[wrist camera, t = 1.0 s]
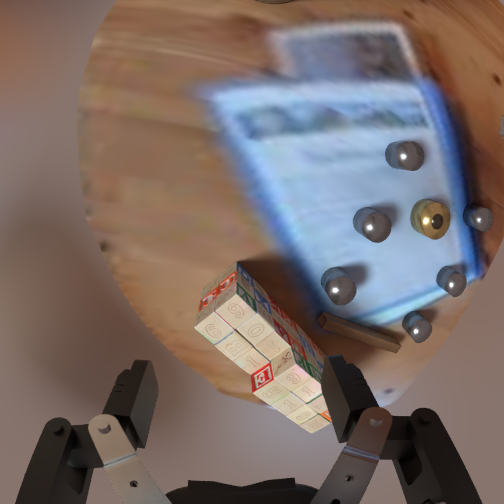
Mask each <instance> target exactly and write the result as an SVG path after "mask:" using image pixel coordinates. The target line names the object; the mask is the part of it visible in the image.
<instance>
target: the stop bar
mask: <svg viewBox="0 0 504 504" xmlns="http://www.w3.org/2000/svg"><path fill="white" fill-rule="evenodd" d="M317 320H318V322H319V324H320V326H321V328H322V329H324V330H327V331H330V332H333V333H336V334H339V335H342V336H345V337H348V338H350V339H353V340H356V341H359V342H362V343H365V344H369V345H372V346H375V347H378V348H381V349H384V350H387V351H390V352H393V353H397V352H398V350H399V349H400V347H401V345H400V343H399V342H398V341H397V340H396V338H394V337H392V336H389V335H386V334H383V333H380V332H378V331H375V330H372V329H370V328H367V327H364V326H361V325H359V324H356V323H353V322H351V321H348V320H345V319H343V318H340V317H337V316H335V315H332V314H329V313H327V312H324V311H322V313H321V314H320V316H319V318H318V319H317Z"/></svg>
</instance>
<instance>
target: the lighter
mask: <svg viewBox="0 0 504 504" xmlns="http://www.w3.org/2000/svg"><path fill="white" fill-rule="evenodd" d="M499 134H500V135H501V136H502V138H504V115H502V121H501V126H500V131H499Z"/></svg>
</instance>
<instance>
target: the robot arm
mask: <svg viewBox="0 0 504 504" xmlns="http://www.w3.org/2000/svg"><path fill="white" fill-rule="evenodd" d="M256 1H259V2H263V3H270V4H278V3H285V2H288V1H292V0H256ZM321 390H322V394H323V397H324V400H325V403H326V405H327V408H328V411H329V414H330V417H331V420H332V423H333V426H334V429H335V432H336V435H337V439H338V441H339V443H344V442H347V444H346V446H345V447H344V448H343V450H342V452H341V453H340V455H339V457H338V459H337V461H336V462H335V464H334V466H333V468H332V469H331V471H330V473H329V474H328V476H327V478H326V479H325V481H324V483H323V484H322V486H321V487H320V489H319V490H318V489H316V488H314V487H311V486H307V485H302V484H295V478H285V479H274V480H267V481H263V482H259V483H256V484H252V485H248V486H243V487H239V486H233V485H228V484H223V483H218V482H214V481H191V480H188V487H182V488H178V489H175V490H173V491H170V492H168V493H167V494H164V493H163V491H162V490H161V489H160V487H159V486H158V484H157V483H156V481H155V480H154V479H153V477H152V476H151V474H150V473H149V471H148V470H147V468H146V467H145V465H144V464H143V462H142V461H141V459H140V457H139V456H138V454H137V453H136V450H137V448H145V446H146V441H147V437H148V433H149V429H150V425H151V421H152V416H153V413H154V409H155V405H156V401H157V397H158V383H157V380H156V376H155V372H154V368H153V364H152V362H151V361H150V360H135V361H134V363H133V365H132V367H131V370H127V369H126V370H124V371H123V372H122V373H121V374H120V375H119V376H118V377H117V380H116V382H115V385H114V387H113V389H112V392H111V394H110V396H109V398H108V401H107V403H106V406H105V408H104V410H103V413H102V415H99V416H96V417H94V418H93V419H92V420H91V421H90V423H89V424H85V425H73V426H71V424H70V422H69V421H68V420H66V419H64V418H60V417H59V418H53V419H51V420H50V421H48V422H47V423H46V425H45V427H44V429H43V431H42V434H41V436H40V438H39V441H38V443H37V446H36V448H35V450H34V453H33V455H32V458H31V460H30V463H29V466H28V468H27V471H26V473H25V476H24V479H23V482H22V485H21V488H20V490H19V493H18V496H17V499H16V503H15V504H86V500H87V495H88V491H89V486H90V482H91V477H92V474H93V470H94V468H100V467H104V469H105V471H106V473H107V475H108V477H109V479H110V481H111V483H112V485H113V487H114V489H115V490H116V492H117V494H118V496H119V497H120V499H121V501H122V503H123V504H359V503H360V501H361V499H362V497H363V495H364V493H365V491H366V489H367V487H368V484H369V482H370V480H371V478H372V476H373V473H374V471H375V469H376V467H377V464H378V462H379V459H382V460H383V459H386V460H387V459H388V460H392V461H393V464H394V466H395V469H396V472H397V475H398V478H399V480H400V484H401V486H402V489H403V493H404V496H405V499H406V502H407V504H482V502H481V499H480V497H479V495H478V493H477V491H476V489H475V486H474V484H473V482H472V480H471V478H470V476H469V474H468V471H467V469H466V468H465V465H464V463H463V461H462V459H461V458H460V455H459V454H458V452H457V450H456V448H455V446H454V444H453V442H452V440H451V438H450V436H449V435H448V433H447V431H446V429H445V427H444V425H443V424H442V422H441V420H440V418H439V416H438V415H437V413H436V412H434V411H433V410H431V409H428V408H419V409H416V410H415V411H414V412H413V413H412V414H411V416H392V415H391V414H390V413H389V411H387V410H386V409H384V408H381V407H379V405H378V403H377V401H376V399H375V397H374V396H373V394H372V392H371V390H370V388H369V386H368V385H367V382H366V380H365V379H364V376H363V374H362V372H361V370H360V369H359V368H357V367H356V366H355V365H354V364H353V363H352V364H346V362H345V360H344V358H343V356H342V355H341V354H340V355H331V356H326V357H325V359H324V365H323V371H322V377H321Z"/></svg>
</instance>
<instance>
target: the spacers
mask: <svg viewBox="0 0 504 504" xmlns="http://www.w3.org/2000/svg"><path fill="white" fill-rule="evenodd" d="M385 157H386V160H387V162H388V164H389V165H390V166H391V167H393V168H396V169H403V170H410V171H415V170H418V169H419V168H420V167H421V166H422V164H423V161H424V154H423V151H422V149H421V147H420V146H419V145H418V144H417V143H415V142H393V143H391V144H389V145H388V147H387V148H386V152H385ZM463 220H464V222H465V224H466V225H468V226H471V227H473V228H476V229H478V230H480V231H483V232H486V231H488V230H489V229H490V227H491V225H492V222H493V215H492V212H491V210H490V209H487V208H484V207H481V206H478V205H474V204H468V205H467V206H466V207H465V209H464V212H463ZM353 225H354V228H355V230H356V231H357V232H358V233H360V234H362V235H363V236H365V237H366V238H368V239H369V240H371V241H372V242H375V243H379V242H382V241H384V240H385V239H386V238H387V237H388V236H389V234H390V232H391V221H390V219H389V218H388V217H387V216H386V215H385V214H382V213H380V212H378V211H375V210H373V209H371V208H367V207H365V208H361V209H360V210H358V211H357V212H356V214H355V216H354V219H353ZM436 282H437V284H438V286H440V287H441V288H442V289H444V290H445V291H446V292H448V293H449V294H450V295H452V296H453V297H457V296H459V295H461V294H462V292H463V291H464V289H465V287H466V278H465V276H463V275H462V274H460V273H459V272H457V271H455V270H454V269H452V268H451V267H449V266H445V267H443V268H442V269H441V270H440V271H439V272H438V275H437V278H436ZM321 285H322V287H323V289H324V290H325V292H326V293H327V295H328V296H329V298H330V299H331V301H332V302H333V303H334V304H336V305H345V304H348V303H349V302H351V301H352V300H353V298H354V297H355V295H356V291H357V289H356V285H355V283H354V282H353V281H352V280H351V279H350V278H349V277H348V275H347V274H346V273H345V272H344V271H343V270H342V269H340V268H337V267H334V268H330V269H328V270H327V271H326V272H325V273H324V274H323V276H322V278H321ZM402 327H403V328H404V330H405V331H406V332H407V333H408V334H409V335H410V336H411V338H412V339H413V340H414V341H415V342H416V343H421V342H423V341H425V340H426V339H427V338H428V337H429V336H430V334H431V332H432V326H431V324H430V323H429V322H428V321H427V320H426V319H425V318H424V317H423V316H421V315H420V314H419V313H418V312H417V311H412V312H410V313H408V314H407V315H406V316H405V317H404V319H403V322H402Z"/></svg>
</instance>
